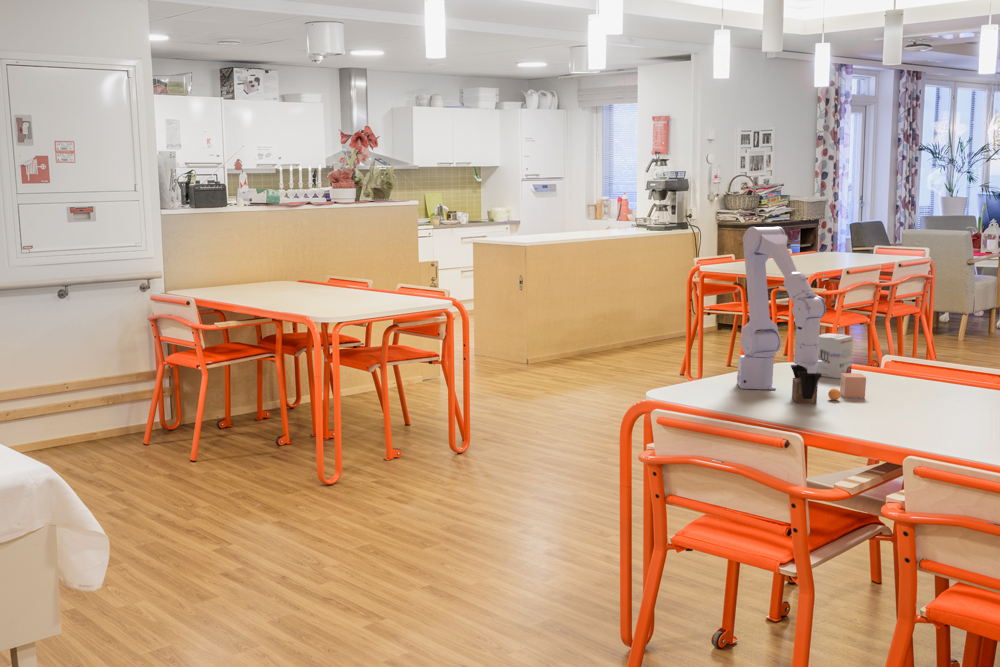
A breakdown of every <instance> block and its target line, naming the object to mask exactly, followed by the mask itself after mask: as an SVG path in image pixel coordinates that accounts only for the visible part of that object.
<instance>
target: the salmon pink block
mask: <svg viewBox="0 0 1000 667" xmlns="http://www.w3.org/2000/svg"><path fill="white" fill-rule="evenodd" d="M866 384H867V377H866V376H865V375H863V374H862V373H856V372H855V373H853V372H851V373H841V378H840V385H839V391H840V396H842V395H843V396H844V397H843V396H842V397H843V398H847V397H865V398H866Z"/></svg>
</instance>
